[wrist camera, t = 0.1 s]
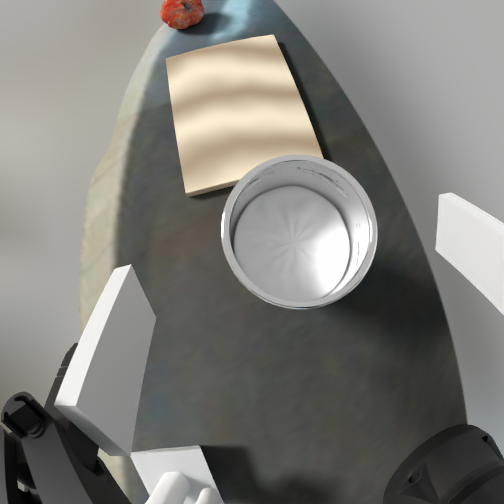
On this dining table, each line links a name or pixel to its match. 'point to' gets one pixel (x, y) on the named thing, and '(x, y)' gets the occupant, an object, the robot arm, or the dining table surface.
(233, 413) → the dining table surface
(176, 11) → the pomegranate
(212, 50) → the birch board
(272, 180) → the beer glass
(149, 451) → the figurine
